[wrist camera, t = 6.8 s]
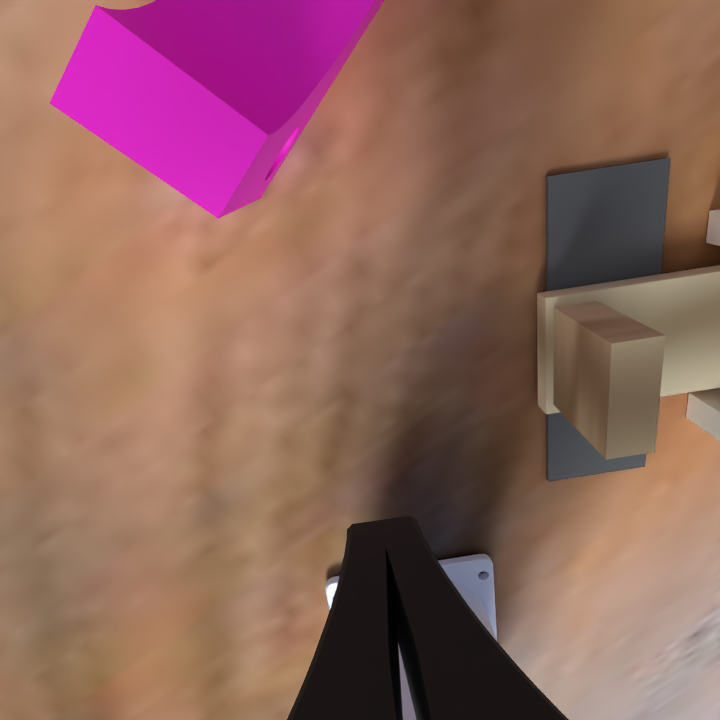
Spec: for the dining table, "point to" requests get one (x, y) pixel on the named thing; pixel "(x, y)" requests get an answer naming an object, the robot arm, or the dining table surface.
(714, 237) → the cream tunnel
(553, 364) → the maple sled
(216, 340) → the dining table surface
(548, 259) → the dark grey panel
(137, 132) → the toy block
